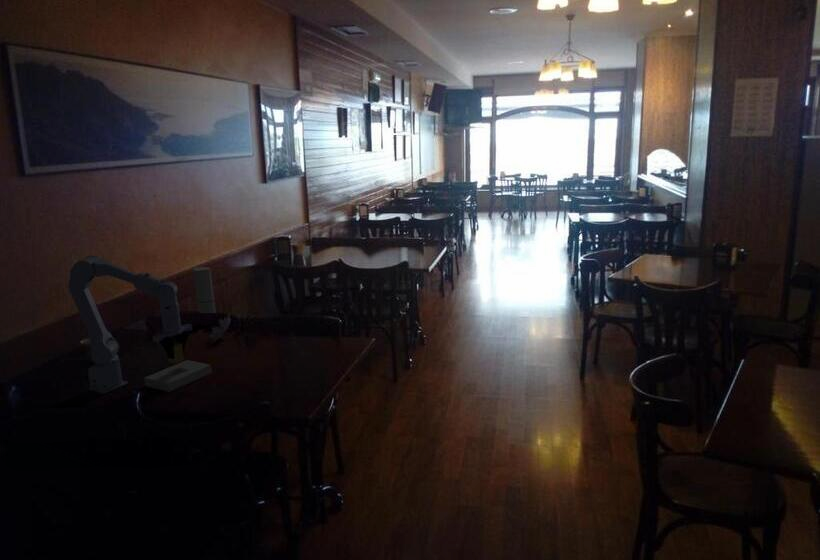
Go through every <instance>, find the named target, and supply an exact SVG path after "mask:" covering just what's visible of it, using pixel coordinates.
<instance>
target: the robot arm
mask: <svg viewBox="0 0 820 560" xmlns="http://www.w3.org/2000/svg"><path fill="white" fill-rule="evenodd" d="M69 273H70V275H69V276H70V277H69V280H68V281H69V283H68V290H69V293H70V295H71V297H72V300H73V301H74V304H75V306H76V308H77V311H78V314H79V316H80V317H81V320H82V323H83V324H84V326H85V329H86V331H87V334H88V336H89V338H90V341H89V347H90V350H91V354H90V356H91V359H92V361H93V362H94V364H93V365H92V366H90V367H89V368H88V370H87V374H88V375H87V376H88V381H89V390H90V391H93V392H96V393H101V394H107V393H109V392H111V391H113V390H117V389H119V388H121V387H124V386H126V385H129V381H125V380H123V375H122V369H121V362H120V357H119V355H118V353H119V350H120V343H119V342H118V341H117V340H116V339H115V338H114V337H113V334H112V333H110V331H108V330H107V328H106V326H105V324H104V321H103V319H102V317H101V314H100V312H99V310H98V307H97V305H96V303H95V300H94V298H93V296H92V294H91V292H90V289H89V286H90V284H91V283H92V281H93V279H94V278H99V277H105V276H110V277H112V278H116V279H118V280H121V281H125V282H127V283H129V284H130V283H131V284H133V287H134V289H136V290H138V291H141V292H143V293H146V294H149V295H151V296H154V297H155V296H156V298H157V300H158V301H159V309H160V315H161V323H162V330H163V331H160V332H159V333H157V334H155V335H152V341H153V343H159V344H160V345H161V347H163V349H164V351H165V352H166V353H165V354H166V355H167V359H168V358H171V359H173V358H174V342H178V343H182V348H183V355H185V348H186V343H187V341H188V338H189V336H190V335H189V333H188V331H193V324H190V323H186V324H183V325H182V321H181V316H180V315H181V314H180V306H179V302H178V296H177V294H178V290H179V289H178V285H177V284H176V283H175V282H174V281H172V280H169V279H168V280H165V279H164V278H161V279H160V278H157V277H156V276H153V275H151V273H150V272H148V271H146V273H145V272H140V273H135V272H134V271H130V270H129V269H127V268H124V267H122V266H119V265H117V264H116V263H112V262H110V261H108V260H107V259H105V258H102V257H98V256H95V255H87V256H85V257H84V258H83V259H80V260H78V261H76V262H75V263H74V264H73V266H72V267H71V268H70V270H69ZM171 337H173V338H174V339H172V338H171Z"/></svg>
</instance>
